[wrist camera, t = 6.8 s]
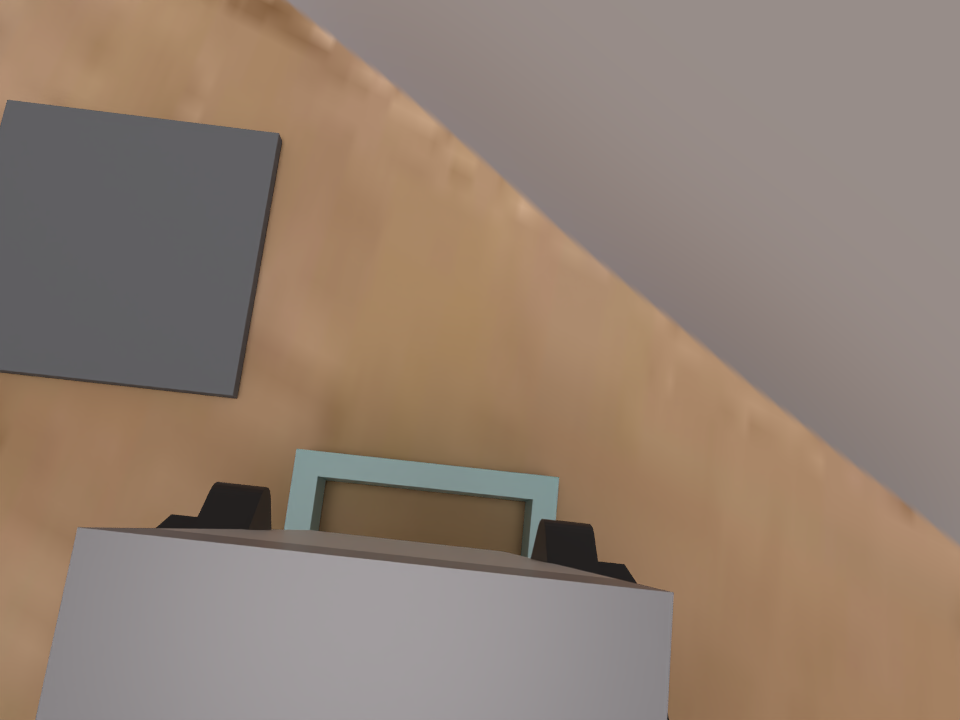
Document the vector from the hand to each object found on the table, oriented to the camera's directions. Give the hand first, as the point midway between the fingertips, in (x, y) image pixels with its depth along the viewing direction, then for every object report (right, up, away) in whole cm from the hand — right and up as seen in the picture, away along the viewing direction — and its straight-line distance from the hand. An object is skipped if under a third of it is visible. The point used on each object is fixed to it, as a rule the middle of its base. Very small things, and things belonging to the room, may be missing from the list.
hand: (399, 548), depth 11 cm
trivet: (-12, +7, +17) cm, 22 cm away
